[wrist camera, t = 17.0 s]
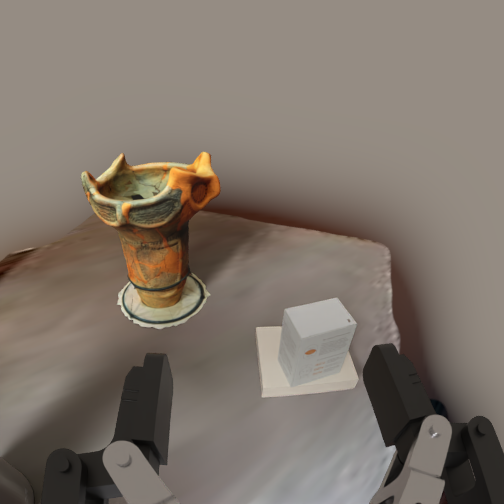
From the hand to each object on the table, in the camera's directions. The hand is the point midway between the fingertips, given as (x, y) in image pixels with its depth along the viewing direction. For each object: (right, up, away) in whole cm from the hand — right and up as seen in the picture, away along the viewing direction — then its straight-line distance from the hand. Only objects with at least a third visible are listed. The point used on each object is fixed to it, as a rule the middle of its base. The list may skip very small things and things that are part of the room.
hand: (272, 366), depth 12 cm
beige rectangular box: (+7, -13, +36) cm, 39 cm away
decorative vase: (-18, -4, +49) cm, 52 cm away
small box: (+7, -13, +33) cm, 36 cm away
